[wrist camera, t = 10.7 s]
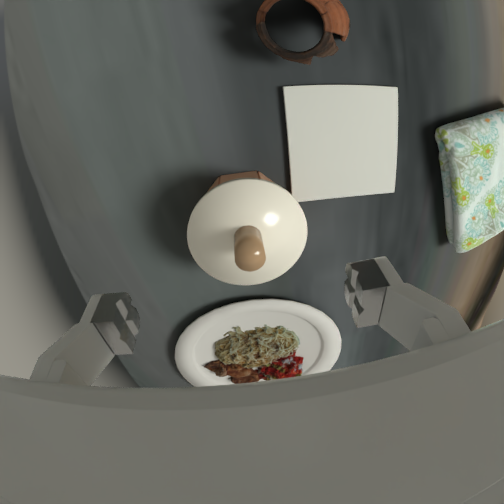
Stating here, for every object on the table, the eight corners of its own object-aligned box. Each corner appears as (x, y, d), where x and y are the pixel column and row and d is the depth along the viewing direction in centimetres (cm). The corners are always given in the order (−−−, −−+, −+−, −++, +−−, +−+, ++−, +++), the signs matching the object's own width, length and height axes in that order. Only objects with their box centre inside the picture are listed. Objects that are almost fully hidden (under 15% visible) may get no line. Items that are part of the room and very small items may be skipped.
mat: (395, 87, 29) (397, 87, 29) (392, 190, 37) (394, 192, 36) (282, 86, 29) (283, 86, 29) (291, 200, 37) (292, 202, 36)
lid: (303, 170, 30) (315, 187, 26) (306, 272, 37) (315, 298, 33) (175, 188, 30) (167, 207, 26) (201, 287, 37) (198, 314, 33)
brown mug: (349, 62, 28) (340, 75, 23) (271, 51, 30) (244, 62, 25) (356, -29, 19) (348, -42, 14) (272, -35, 22) (242, -45, 16)
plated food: (191, 273, 42) (189, 289, 39) (368, 307, 49) (375, 321, 46) (167, 383, 57) (165, 396, 54) (298, 397, 64) (300, 409, 61)
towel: (444, 246, 43) (460, 263, 39) (429, 125, 32) (451, 134, 28) (510, 209, 40) (527, 222, 36) (505, 100, 29) (527, 107, 25)
